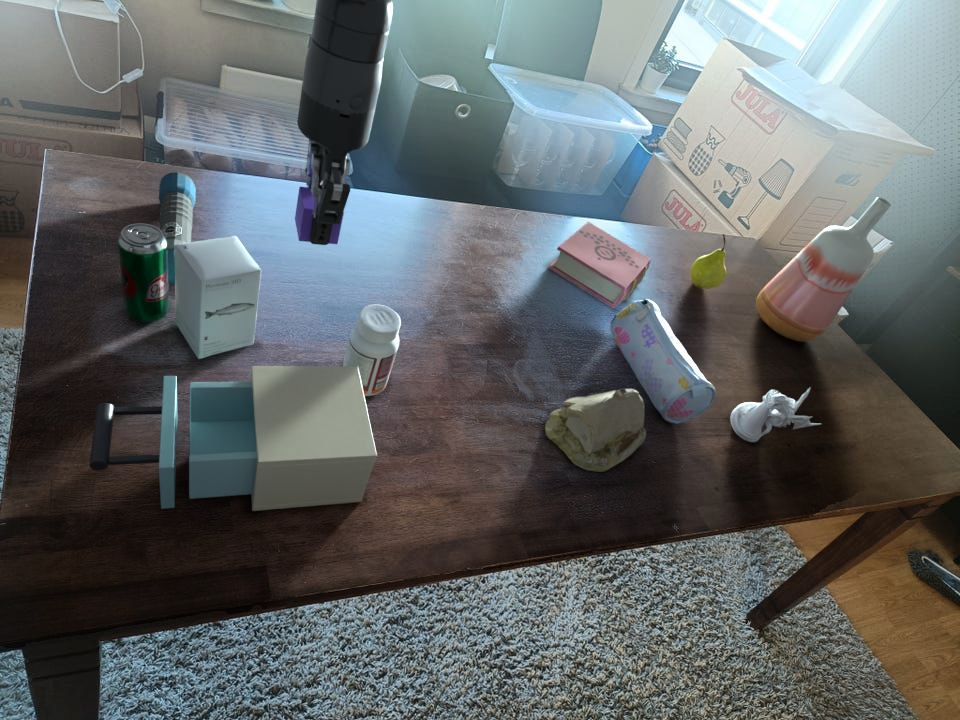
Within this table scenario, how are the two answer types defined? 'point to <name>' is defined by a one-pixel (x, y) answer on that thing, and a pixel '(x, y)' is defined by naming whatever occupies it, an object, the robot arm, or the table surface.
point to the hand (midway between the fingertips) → (316, 229)
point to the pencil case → (661, 362)
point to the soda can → (144, 272)
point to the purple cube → (310, 217)
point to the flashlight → (176, 214)
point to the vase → (819, 279)
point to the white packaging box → (216, 295)
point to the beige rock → (599, 428)
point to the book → (600, 264)
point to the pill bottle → (373, 346)
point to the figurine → (767, 415)
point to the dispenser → (310, 436)
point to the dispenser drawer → (194, 439)
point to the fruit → (709, 269)
